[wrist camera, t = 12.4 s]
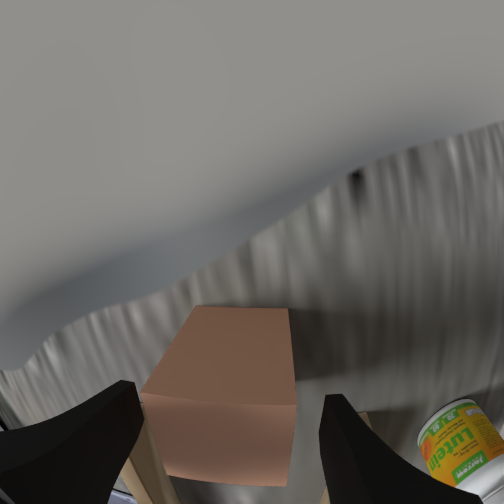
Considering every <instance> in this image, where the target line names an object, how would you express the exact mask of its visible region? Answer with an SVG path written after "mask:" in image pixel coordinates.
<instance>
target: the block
mask: <svg viewBox="0 0 504 504" xmlns="http://www.w3.org/2000/svg"><path fill="white" fill-rule="evenodd" d="M140 393H141V397H142V401H143V404H144V408H145V411H146V415H147V418H148V422H149V425H150V428H151V431H152V434H153V437H154V440H155V443H156V446H157V449H158V452H159V455H160V458H161V460H162V463H163V466H164V468H165V471H166V474H167V475H170V476H176V477H181V478H187V479H193V480H200V481H207V482H215V483H225V484H236V485H252V486H286V484H287V478H288V471H289V465H290V458H291V451H292V443H293V436H294V428H295V420H296V411H297V397H296V386H295V374H294V364H293V354H292V343H291V334H290V324H289V315H288V308H242V307H213V306H195V308H194V309H193V311H192V312H191V314H190V315H189V317H188V318H187V320H186V321H185V323H184V325H183V326H182V328H181V329H180V331H179V332H178V334H177V335H176V337H175V338H174V340H173V342H172V343H171V345H170V346H169V348H168V349H167V351H166V352H165V354H164V355H163V357H162V359H161V360H160V362H159V363H158V365H157V366H156V368H155V370H154V371H153V373H152V374H151V376H150V377H149V379H148V381H147V382H146V384H145V385H144V387H143V388H142V390H141V392H140Z"/></svg>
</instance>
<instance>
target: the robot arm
mask: <svg viewBox="0 0 504 504" xmlns="http://www.w3.org/2000/svg"><path fill="white" fill-rule="evenodd" d="M144 420H145V418H144V415H143V411H142V408H141V404H140V401H139V397H138V394H137V390H136V386H135V382H130V381H125V380H120V381H118V382H116V383H115V384H113V385H111V386H110V387H108V388H106V389H105V390H103V391H102V392H100V393H98V394H97V395H95V396H93V397H92V398H90V399H88V400H87V401H85V402H83V403H81V404H80V405H78V406H76V407H74V408H72V409H70V410H68V411H66V412H64V413H62V414H60V415H58V416H56V417H53V418H51V419H48V420H46V421H43V422H40V423H37V424H34V425H30V426H27V427H23V428H19V429H14V430H8V431H1V432H0V504H138V503H137V501H136V500H135V498H134V497H133V496H130V495H127V494H123V493H120V492H117V491H114V490H112V489H113V487H114V484H115V482H116V480H117V478H118V476H119V474H120V472H121V470H122V468H123V466H124V464H125V462H126V461H127V459H128V457H129V455H130V453H131V451H132V449H133V447H134V445H135V444H136V442H137V440H138V437H139V434H140V432H141V429H142V426H143V423H144ZM319 443H320V455H321V460H322V465H323V470H324V475H325V480H326V485H327V490H328V495H329V500H330V504H483V502H482V500H481V498H480V497H479V495H477V494H474V493H470V492H467V491H464V490H461V489H458V488H455V487H452V486H450V485H448V484H445V483H443V482H441V481H439V480H437V479H435V478H433V477H431V476H429V475H427V474H426V473H424V472H422V471H421V470H419V469H417V468H416V467H414V466H412V465H411V464H410V463H408V462H407V461H405V460H404V459H403V458H402V457H400V456H399V455H398V454H396V453H395V452H394V451H393V450H392V449H391V448H390V447H388V446H387V445H386V444H385V443H384V442H383V441H382V440H381V439H380V438H379V437H378V436H377V435H376V434H375V433H374V432H373V431H372V429H371V428H370V427H369V426H368V425H367V424H366V423H365V422H364V421H363V419H362V418H361V417H360V416H359V415H358V413H357V412H356V411H355V410H354V408H353V407H352V406H351V404H350V403H349V402H348V400H347V399H346V398H345V396H344V395H343V394H331V395H325V401H324V407H323V412H322V418H321V423H320V428H319Z"/></svg>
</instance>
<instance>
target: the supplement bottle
mask: <svg viewBox="0 0 504 504" xmlns="http://www.w3.org/2000/svg"><path fill="white" fill-rule="evenodd" d="M418 446H419V448H420V451H421V453H422V455H423V458H424V460H425V462H426V464H427V467H428V469H429V471H430V473H431V476H432V477H433V478H435V479H437V480H439V481H441V482H443V483H445V484H448V485H450V486H452V487H455V488H458V489H461V490H464V491H467V492H470V493H474V494H477V495H479V497H480V498H481V500H482V502H483V504H504V440H503V439H502V437H501V436H500V434H499V433H498V432H497V430H496V429H495V427H494V426H493V425H492V423H491V422H490V421H489V419H488V418H487V417H486V415H485V414H484V413H483V411H482V410H481V409H480V407H479V406H478V405H477V404H476V403H475V402H474V401H473V400H470V399H462V400H458V401H455V402H453V403H450V404H448V405H447V406H445V407H443V408H442V409H440V410H439V411H438V412H436V413H435V414H434V415H433V416H432V417H431V418H430V419H429V420H428V421H427V422H426V424H425V425H424V426H423V428H422V429H421V431H420V433H419V436H418Z"/></svg>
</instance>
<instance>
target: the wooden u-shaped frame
mask: <svg viewBox="0 0 504 504" xmlns="http://www.w3.org/2000/svg"><path fill="white" fill-rule="evenodd" d="M140 404H141V408H142V411H143V415H144V418H145V420H144V423H143V426H142V429H141V432H140V434H139V437H138V440H137V442H136V444H135V445H134V447H133V449H132V451H131V453H130V455H129V457H128V459H127V461H126V462H125V464H124V466H123V468H122V470H121V472H120V475H121V476H122V478H123V480H124V482H125V483H126V485H127V487H128V488H129V490H130V492H131V493H132V495H133V496H134V498H135V500H136V501H137V503H138V504H181V503H180V501H179V499H178V496H177V494H176V491H175V489H174V487H173V484H172V482H171V479H170V477H169V475H167V474H166V471H165V468H164V466H163V463H162V460H161V458H160V455H159V452H158V449H157V446H156V443H155V440H154V437H153V434H152V431H151V428H150V425H149V422H148V418H147V415H146V411H145V408H144V404H143V403H140ZM358 415H359V416H360V417H361V418H362V419H363V421H364V422H365V423H366V424H367V425H368V426H369V427H370V428H371V429H372V427H371V424H370V421H369V418H368V416H367V413H366V412H363V413H358ZM372 431H373V430H372ZM319 504H330V500H329V495H328V490H327V485H326V487H325V490H324V493H323V495H322V498H321V501H320V503H319Z"/></svg>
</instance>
